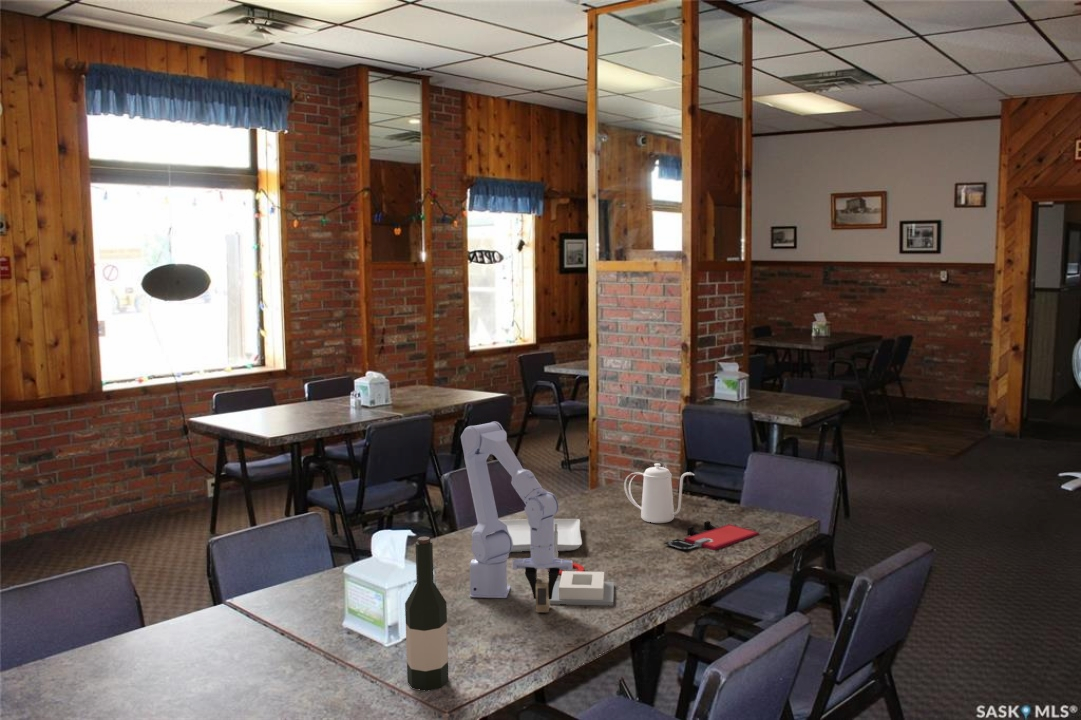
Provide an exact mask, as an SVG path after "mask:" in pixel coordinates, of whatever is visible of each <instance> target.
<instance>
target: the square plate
mask: <svg viewBox="0 0 1081 720" xmlns="http://www.w3.org/2000/svg"><path fill="white" fill-rule="evenodd" d="M498 520H499V521H501V522H502V523H504V524H506V525H507V529H508V532H509V534H510V536H511V538H512V541H513V548H512V551H511V552H510V553H523V552H522V551H531V537H530V526H529V524H528V518H526V519H523V518H521V519H520V518H519V519H518V518H517V519H498ZM555 524H557V531H558V545H557V551H559V552H566V551H575V550H577V549H579V548H580V547H581V546H582V545H583V540H582V534H581V520H580V518H554V528H555Z"/></svg>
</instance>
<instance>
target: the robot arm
mask: <svg viewBox="0 0 1081 720" xmlns="http://www.w3.org/2000/svg"><path fill="white" fill-rule="evenodd" d="M507 437H508V435H507V431H506V430H505V429H504V428H503V426H502V424H501V423H500V422H499V421H491V422H487V423H482V424H481V423H480V424H477V425H476V424H475V425H469V426H467V427H465V428H464V430H463V431H462V433H461V435H460V441H461V446H462V450H463V451H462V452H463V456H464V457H463V458H464V463H465V467H466V468H465V469H466V473H467V478H468V483H469V487H470V491H471V496H472V497H471V498H472V502H473V507H474V511H475V512H474V513H475V516H476V520H477V521H476V522H477V524H476V527H475V528H474V530H472V533H470V534H471V535H470V536H471V552H472V555H473V557H474V558H472V559H470V566H469V589H470V590H469V591H470V592H469V597H470V598H479V599H480V598H484V599H486V598H488V599H506V598H508V595H509V592H510V590H511V585H510V584H509V585H508V568H507V567H508V563H507V560H508V558H510V556H509V555H510V554H511V553H512V552H511V551H512V548H513V541H512V538H511V536H510V534H509V532H508V529H507V525H506V524H504V523H502V522H501V521H499V520H500V519H499V516H498V515H499V514H498V512H497V505H496V501H495V497H494V491H493V486H492V482H491V476H490V472H489V467H488V461H487V459H488V458H489V457H490V455H493V456H494V457H495V458H496V459H497V460H498V462H499V463H500V464H501V466H502V467H503V468H504V469H505V470H506V471H507V473H508V474H509V475H510V476H511V481H510V483H511V485H512V487H513V489H514V490H515V491H516V494H518V496H519V498H520V499H521V500H522V502H523V503H524V504H525V506H524V512H525V515H526V517H527V519H528V524H529V526H530V537H531V552H530V557H529V558H528V557H527V558H517V559H516V558H514V559H513V560H512V570H518V569H519V570H522V569H524V570H525V572H524V575H525V577H526V579H527V580H528V583H529V585H530V588H531V591H532V595H533V599H535V600H536V581H537V578H538V576H537V575H538V573H537V572H538V570H548V569H550V570H549V572H548V577H549V599H552V592H553V588H554V585H555V582H556V581H558V580H557V579H558V578H559V575H560V574H559V571H560V570H563V571H566V570H567V571H573V568H574V567H573V565H572V563H573V560H572V559H571V560H569V559H562V558H558V559H555V558H554V519H555V517H554V516H556V515H557V514H558V512H559V507H560V506H559V504H560V503H559V501H558V498H557V497H556V495H555V494H554V493H552V492H549V491H548V490H547V489H545V488H543V486H542V485H541V484H540V482H539V481H538V479H537V478H536V476H535V474H534V473H533V472H532V471H531V470H530V469H526V468H523V466H522V465H521V464H522V463H520V461H519V460H518V458H517V456H516V454H515V452H513V450H512V448H511V446H510V444H509V442H508V441H507V439H508V438H507Z"/></svg>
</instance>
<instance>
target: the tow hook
mask: <svg viewBox="0 0 1081 720" xmlns="http://www.w3.org/2000/svg"><path fill="white" fill-rule="evenodd" d="M557 545H558V531H557V524H555V528H554V558H555V559H559V558H558V557H559V552H558V551H557ZM572 565H573V568H575V569H577V570H576V571H582V572H585V567H584V566H583V565H581V564H578V563H575V562H572ZM549 570H550V569H547V572H548V573H549ZM562 571H563V569H560V571H559V575H560V576H561V575H562Z"/></svg>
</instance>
